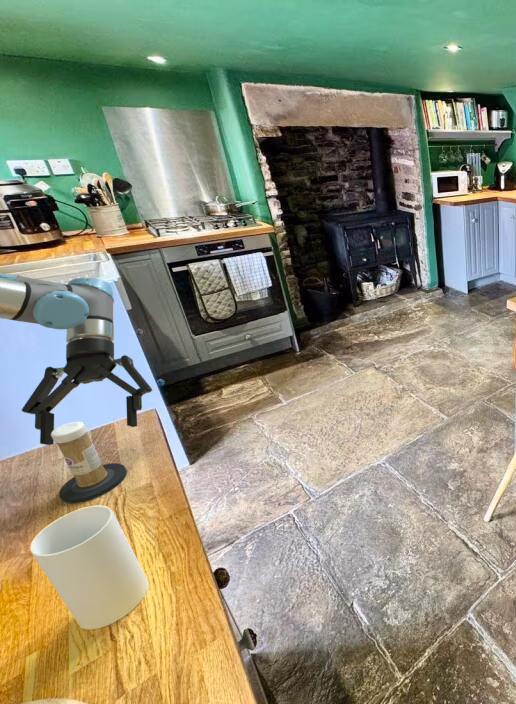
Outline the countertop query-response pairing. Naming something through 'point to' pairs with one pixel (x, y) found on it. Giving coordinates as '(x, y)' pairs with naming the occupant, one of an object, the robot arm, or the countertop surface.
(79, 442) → the sprinkles bottle
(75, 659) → the countertop surface
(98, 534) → the cup
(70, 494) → the mat
